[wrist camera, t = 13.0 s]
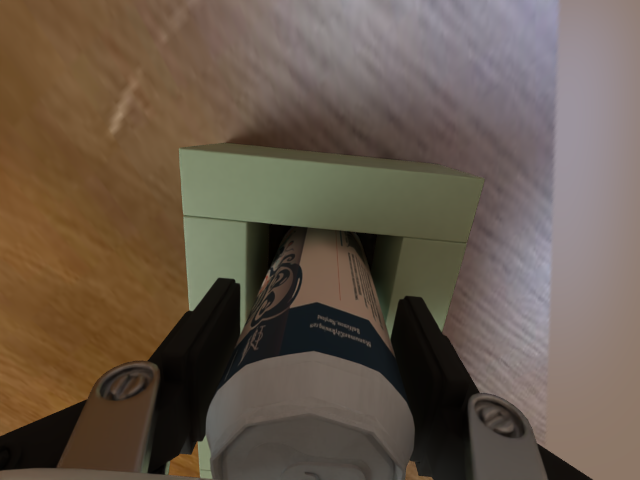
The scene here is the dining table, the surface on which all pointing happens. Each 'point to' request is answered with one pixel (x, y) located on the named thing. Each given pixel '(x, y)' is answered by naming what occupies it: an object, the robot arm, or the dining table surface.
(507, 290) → the dining table surface
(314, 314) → the beer can
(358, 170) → the holder
